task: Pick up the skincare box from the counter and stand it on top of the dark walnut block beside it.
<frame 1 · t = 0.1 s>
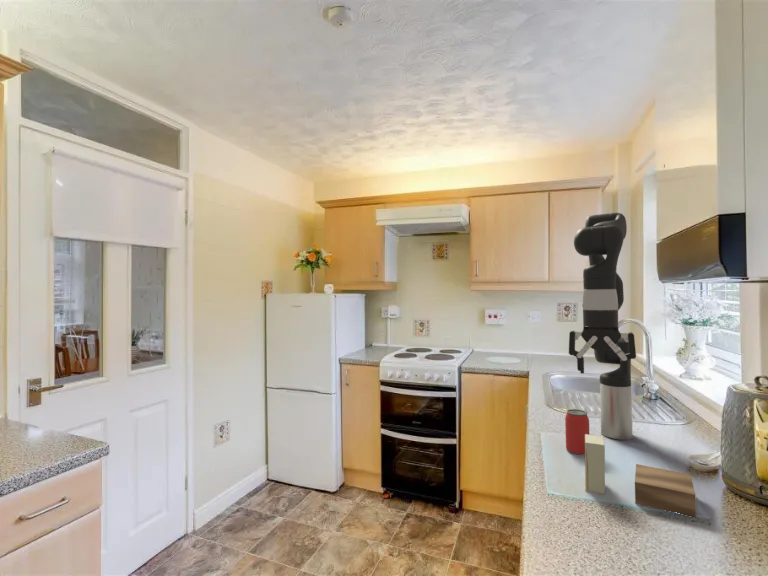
hand: (601, 374, 96), 29 cm above the worktop, tool pointing down, fingers open, 8 cm apart
skincare box: (595, 488, 98), on the worktop
beer can: (577, 451, 120), on the worktop
walnut block: (663, 499, 92), on the worktop
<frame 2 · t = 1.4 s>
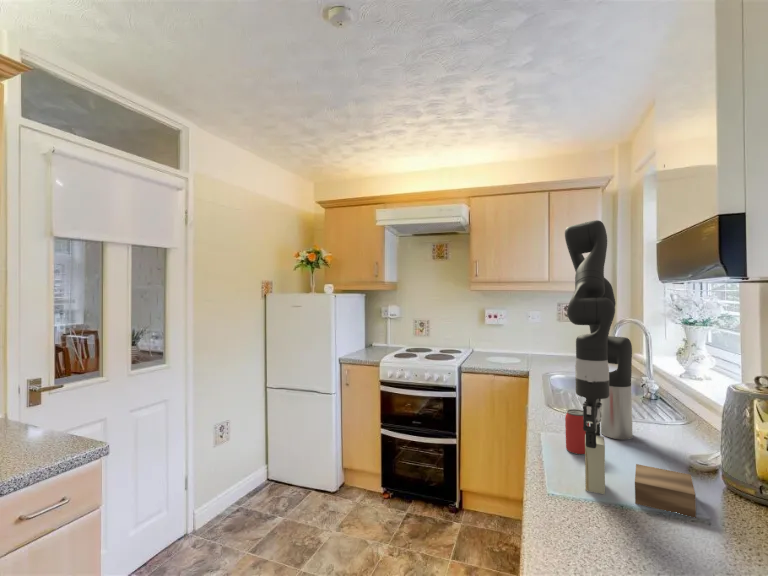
hand: (593, 441, 98), 11 cm above the worktop, tool pointing down, fingers open, 8 cm apart
nothing on the worktop moved.
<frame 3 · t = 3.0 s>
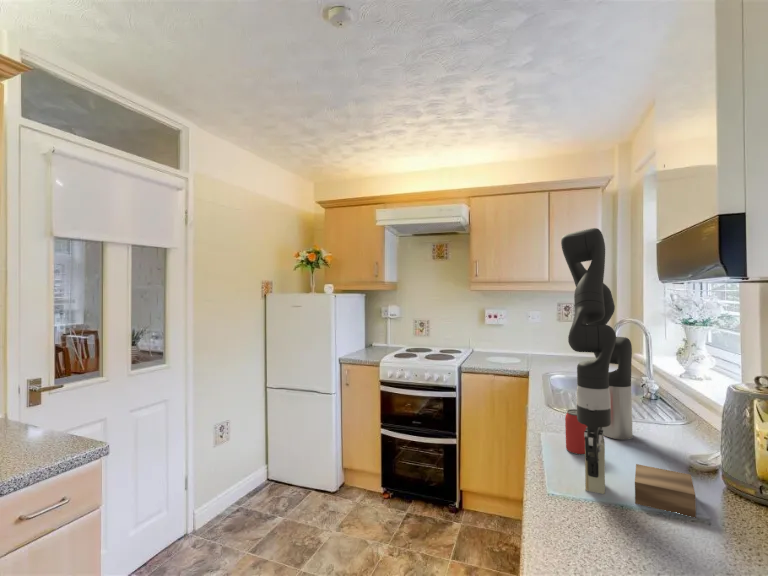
hand: (594, 470, 98), 4 cm above the worktop, tool pointing down, fingers closed on skincare box, 6 cm apart
skincare box: (595, 488, 98), on the worktop, touching gripper
everything else where it was.
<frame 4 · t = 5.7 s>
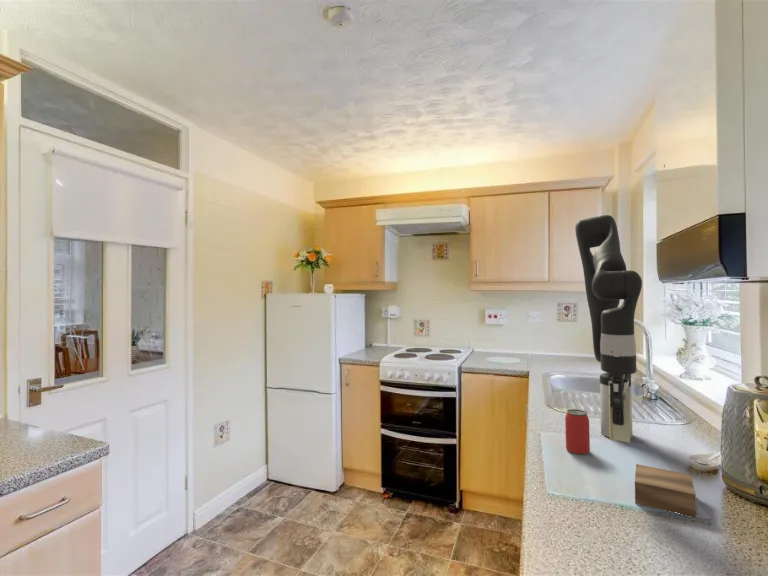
hand: (619, 420, 96), 17 cm above the worktop, tool pointing down, fingers closed on skincare box, 6 cm apart
skincare box: (619, 438, 96), point 13 cm above the worktop, touching gripper
everything else where it was.
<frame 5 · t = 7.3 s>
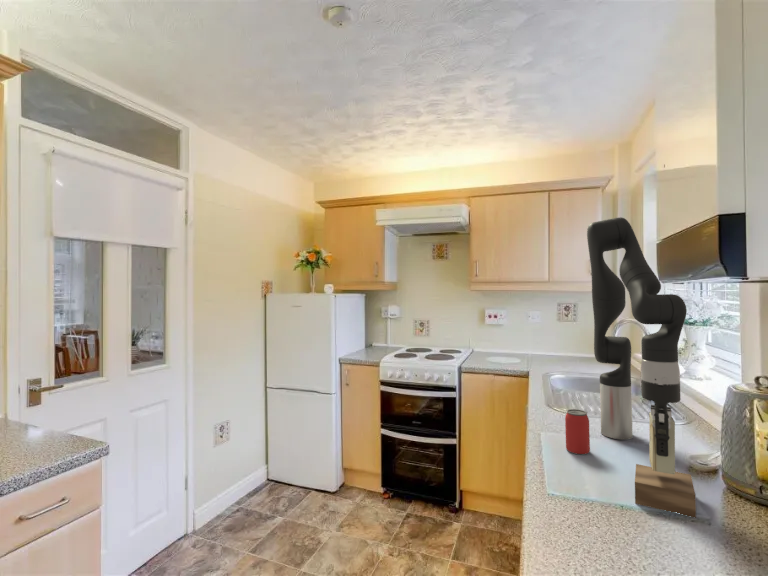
hand: (661, 450, 92), 12 cm above the worktop, tool pointing down, fingers closed on skincare box, 6 cm apart
skincare box: (662, 468, 92), point 7 cm above the worktop, touching gripper
everything else where it was.
when the fingers open (11 cm above the worktop, at t = 8.4 s): skincare box drops 1 cm, resting on walnut block.
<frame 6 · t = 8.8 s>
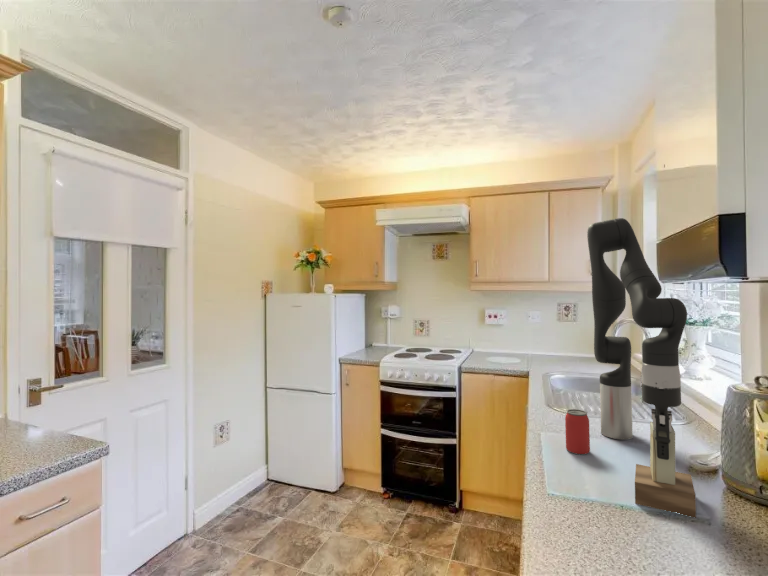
hand: (662, 452, 92), 11 cm above the worktop, tool pointing down, fingers open, 8 cm apart
skincare box: (662, 479, 92), point 5 cm above the worktop, touching walnut block
everything else where it was.
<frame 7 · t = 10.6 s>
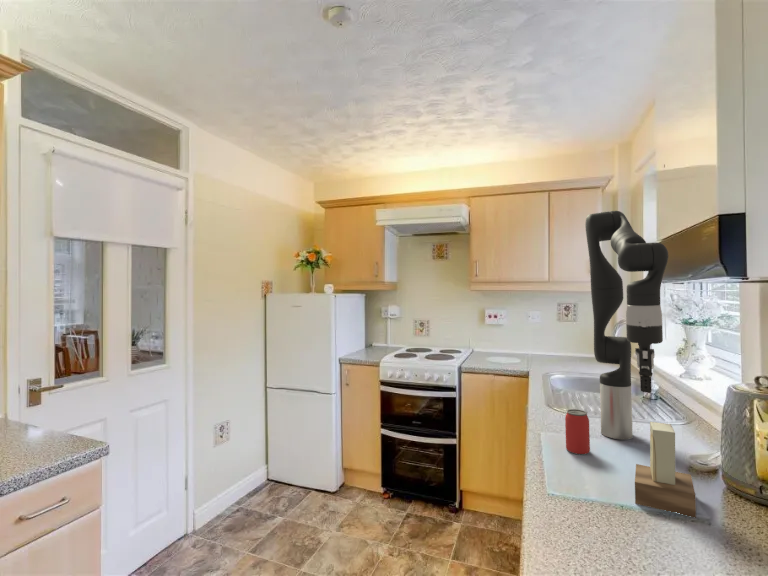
hand: (645, 387, 98), 25 cm above the worktop, tool pointing down, fingers open, 8 cm apart
nothing on the worktop moved.
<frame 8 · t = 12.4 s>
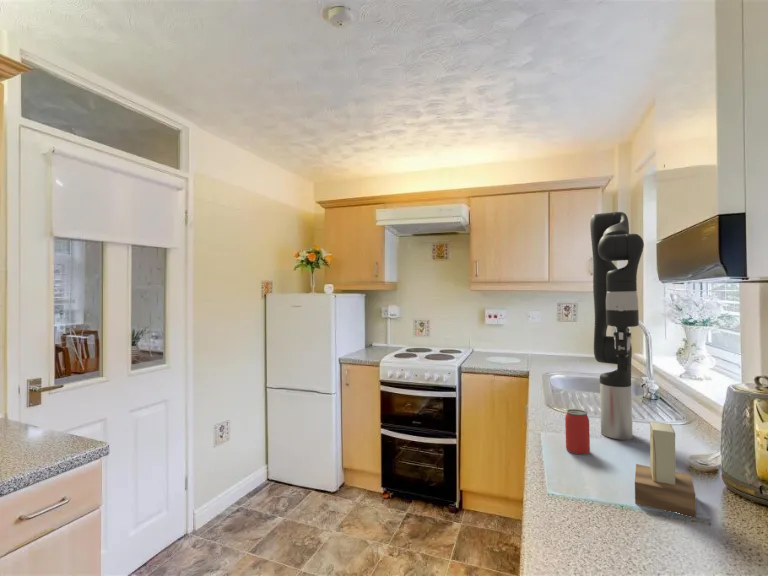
hand: (623, 368, 106), 28 cm above the worktop, tool pointing down, fingers open, 8 cm apart
nothing on the worktop moved.
at the end: skincare box inside the target area on the walnut block (0.1 cm from its centre), point 4.8 cm above the walnut block's base; skincare box tilted 0°; the gripper is holding nothing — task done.
